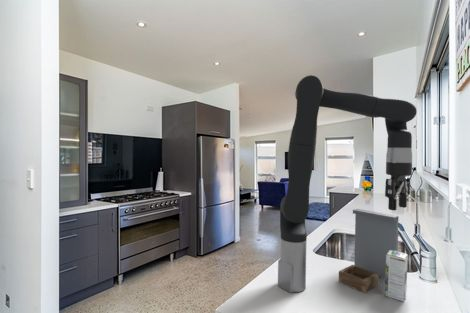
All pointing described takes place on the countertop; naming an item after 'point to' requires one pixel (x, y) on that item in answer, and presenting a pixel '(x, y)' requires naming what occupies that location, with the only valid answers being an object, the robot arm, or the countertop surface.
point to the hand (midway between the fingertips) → (397, 208)
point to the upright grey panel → (374, 239)
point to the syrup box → (396, 275)
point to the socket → (358, 278)
